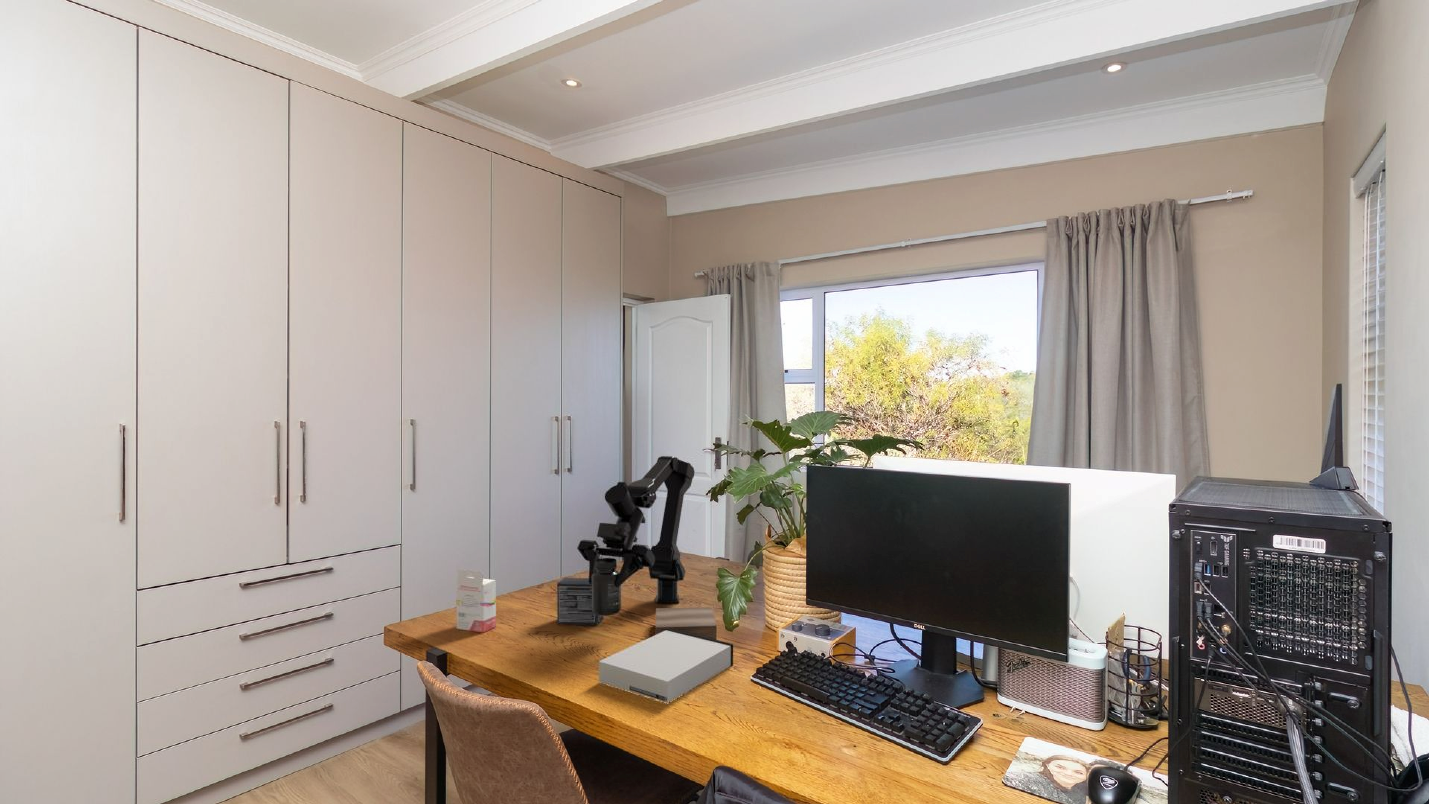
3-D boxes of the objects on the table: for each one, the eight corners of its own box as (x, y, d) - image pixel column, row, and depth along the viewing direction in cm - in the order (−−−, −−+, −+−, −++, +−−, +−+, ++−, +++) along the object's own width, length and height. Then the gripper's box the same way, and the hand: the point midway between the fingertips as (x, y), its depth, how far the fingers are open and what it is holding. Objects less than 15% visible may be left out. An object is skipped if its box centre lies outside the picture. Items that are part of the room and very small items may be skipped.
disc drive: (733, 667, 143) (733, 643, 143) (668, 707, 124) (668, 680, 124) (667, 650, 153) (667, 627, 153) (598, 685, 134) (598, 659, 134)
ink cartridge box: (497, 627, 167) (497, 567, 167) (483, 633, 162) (483, 572, 162) (469, 622, 170) (469, 564, 170) (455, 628, 166) (455, 568, 166)
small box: (604, 618, 174) (604, 577, 174) (597, 626, 168) (597, 584, 168) (564, 616, 175) (564, 576, 175) (556, 625, 169) (556, 583, 169)
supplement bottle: (622, 606, 162) (622, 556, 161) (619, 615, 155) (619, 563, 155) (593, 607, 161) (593, 556, 161) (589, 616, 154) (589, 564, 154)
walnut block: (656, 624, 169) (656, 608, 169) (712, 623, 170) (712, 607, 170) (655, 644, 155) (655, 627, 155) (716, 643, 156) (716, 625, 156)
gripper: (580, 506, 165) (554, 562, 155) (649, 511, 158) (626, 570, 148) (598, 532, 172) (574, 587, 162) (664, 538, 165) (643, 595, 155)
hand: (603, 584), depth 157 cm, fingers closed on supplement bottle, 7 cm apart
